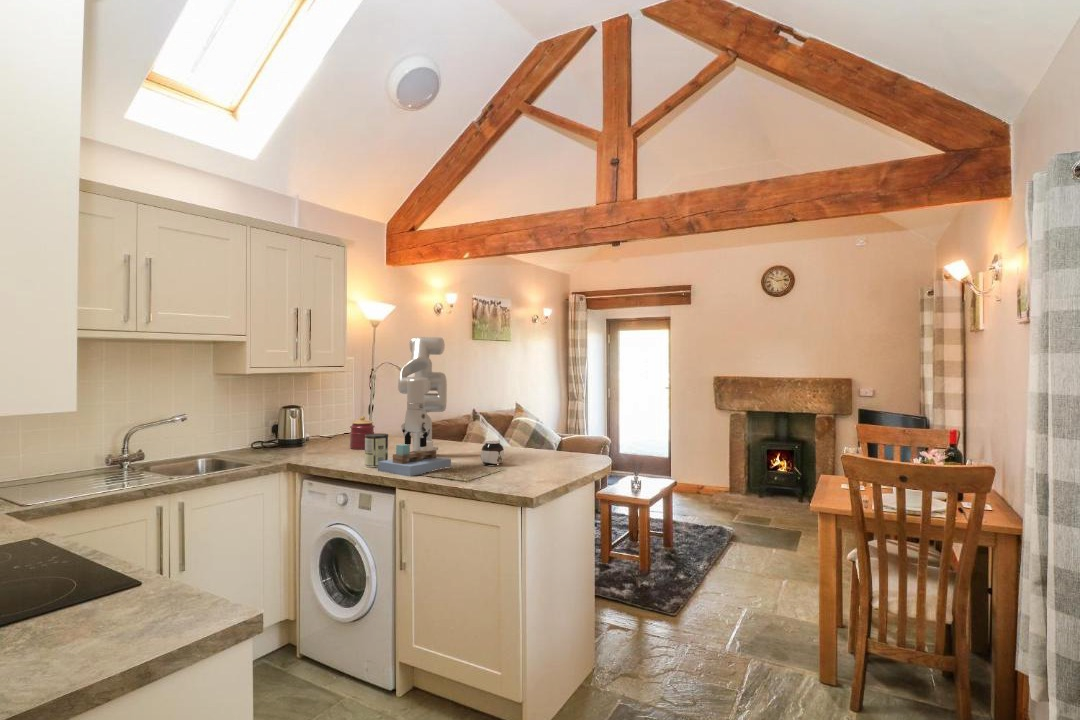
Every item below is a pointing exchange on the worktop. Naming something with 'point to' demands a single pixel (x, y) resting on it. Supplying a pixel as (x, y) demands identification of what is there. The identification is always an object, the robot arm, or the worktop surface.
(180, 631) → the worktop surface
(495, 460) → the spread jar
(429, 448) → the cream cube
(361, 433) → the canister
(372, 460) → the coffee can
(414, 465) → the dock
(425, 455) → the brown long wavy block
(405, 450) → the teal cube
